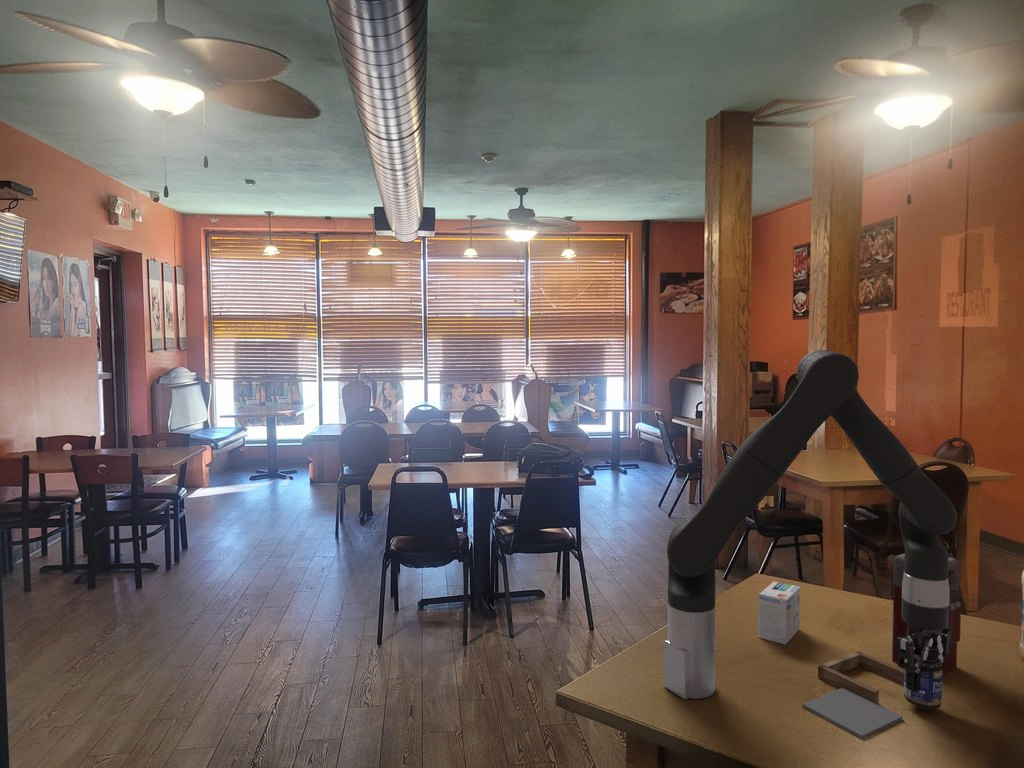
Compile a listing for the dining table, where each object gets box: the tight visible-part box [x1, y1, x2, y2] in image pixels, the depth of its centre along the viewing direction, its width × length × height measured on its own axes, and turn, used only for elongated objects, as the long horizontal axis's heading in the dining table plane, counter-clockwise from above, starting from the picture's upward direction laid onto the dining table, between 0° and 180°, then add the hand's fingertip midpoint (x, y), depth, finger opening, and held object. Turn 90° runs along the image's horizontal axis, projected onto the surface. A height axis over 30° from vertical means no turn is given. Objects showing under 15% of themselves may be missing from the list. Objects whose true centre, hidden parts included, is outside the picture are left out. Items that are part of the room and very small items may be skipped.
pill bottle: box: [903, 645, 943, 710], centre depth 125 cm, size 6×6×11 cm
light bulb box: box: [757, 581, 801, 645], centre depth 158 cm, size 11×7×11 cm, turn 141°
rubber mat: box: [802, 688, 903, 740], centre depth 124 cm, size 12×12×1 cm
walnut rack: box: [817, 650, 904, 705], centre depth 135 cm, size 13×12×2 cm
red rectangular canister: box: [891, 552, 962, 675], centre depth 141 cm, size 9×11×28 cm
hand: (923, 685), depth 125 cm, fingers closed on pill bottle, 6 cm apart
